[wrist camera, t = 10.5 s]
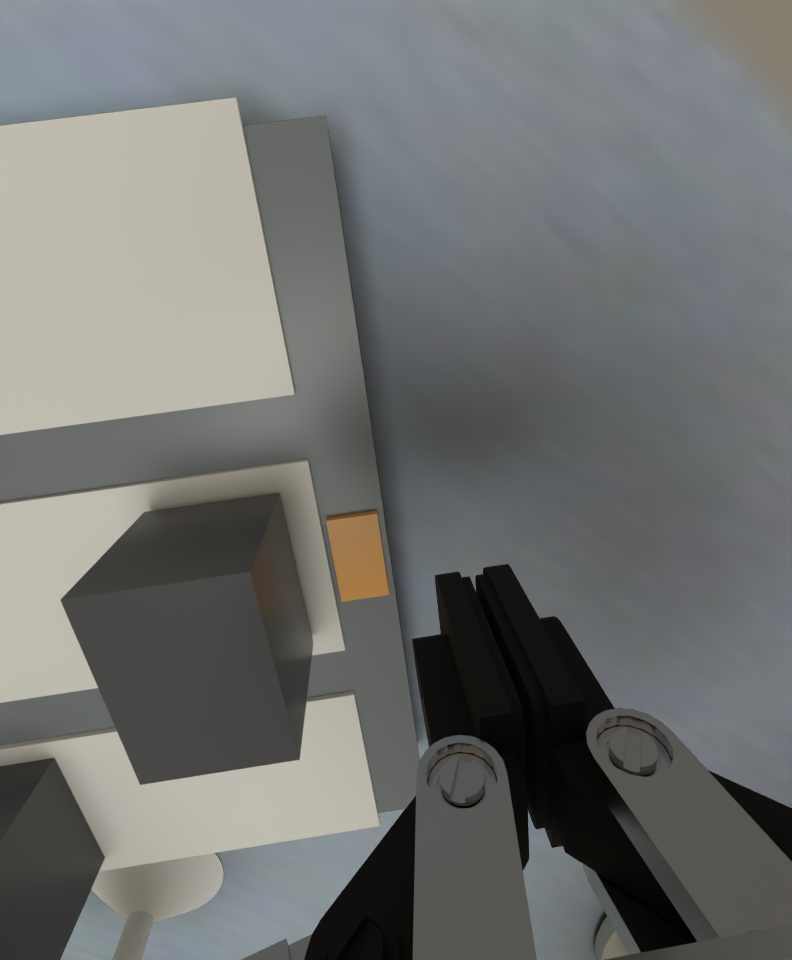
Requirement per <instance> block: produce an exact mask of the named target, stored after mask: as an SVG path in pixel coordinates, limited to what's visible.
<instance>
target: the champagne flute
mask: <svg viewBox="0 0 792 960" xmlns="http://www.w3.org/2000/svg"><path fill="white" fill-rule="evenodd" d="M223 876H224V873H223V867H222V864H221V862H220V860H219V858H218V856H217V855H216V854H215V853H211V854H205V855H199V856H193V857H186V858H180V859H174V860H168V861H162V862H156V863H149V864H143V865H137V866H131V867H125V868H119V869H112V870H106V871H100V872H98V875H97V877H96V879H95V881H94V884H93V886H92V888H91V889H92V891H93V892H94V893H95V894H96V895H97V896H98V897H99V898H100V899H101V900H102V901H104V902H105V903H106V904H107V905H109V906H110V907H111V908H112V909H113V910H115V911H116V912H117V913H118V914H120V915H121V916H122V917H123V918H125V919H126V920H127V921H126V924H125V926H124V929H123V932H122V935H121V937H120V940H119V943H118V946H117V948H116V951H115V954H114V957H113V959H112V960H141V958H142V955H143V952H144V948H145V945H146V942H147V939H148V936H149V933H150V930H151V927H152V924H153V923H156V922H159V921H162V920H165V919H168V918H171V917H174V916H177V915H180V914H183V913H186V912H189V911H192V910H195V909H197V908H199V907H201V906H202V905H204V904H206V903H207V902H208V901H210V900H211V899H212V898H213V897H214V896H215V895H216V893H217V892H218V891H219V889H220V887H221V885H222V883H223Z"/></svg>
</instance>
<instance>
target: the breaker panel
mask: <svg viewBox="0 0 792 960" xmlns="http://www.w3.org/2000/svg"><path fill="white" fill-rule="evenodd" d="M273 493H280V496H281V500H282V505H283V509H284V514H285V518H286V523H287V527H288V531H289V536H290V540H291V545H292V549H293V554H294V558H295V563H296V567H297V572H298V576H299V581H300V585H301V589H302V594H303V598H304V603H305V607H306V612H307V616H308V621H309V625H310V630H311V634H312V639H313V651H312V659H311V668H310V676H309V685H308V693H307V702H306V710H305V719H304V727H303V736H302V744H301V752H300V760H295V761H289V762H282V763H276V764H270V765H263V766H257V767H251V768H244V769H238V770H232V771H225V772H219V773H213V774H206V775H200V776H194V777H187V778H181V779H175V780H168V781H162V782H156V783H149V784H143V785H140V783H139V781H138V779H137V777H136V774H135V772H134V770H133V767H132V765H131V763H130V760H129V758H128V756H127V753H126V751H125V749H124V746H123V744H122V742H121V739H120V737H119V735H118V733H117V730H116V728H115V726H114V723H113V721H112V719H111V716H110V714H109V712H108V709H107V707H106V705H105V702H104V700H103V698H102V696H101V693H100V691H99V689H98V686H97V684H96V682H95V679H94V677H93V675H92V672H91V670H90V668H89V665H88V663H87V661H86V658H85V656H84V654H83V652H82V649H81V647H80V645H79V642H78V640H77V638H76V635H75V633H74V631H73V628H72V626H71V624H70V621H69V619H68V617H67V614H66V612H65V610H64V608H63V605H62V603H61V601H60V600H61V599H62V598H63V596H64V595H65V594H66V593H67V592H68V591H69V590H70V589H71V588H72V587H73V586H74V585H75V584H76V583H77V582H78V581H79V580H80V579H81V578H82V577H83V576H84V574H85V573H86V572H87V571H88V570H89V569H90V568H91V567H92V566H93V565H94V564H95V563H96V562H97V561H98V560H99V559H100V558H101V557H102V556H103V555H104V554H105V552H106V551H107V550H108V549H109V548H110V547H111V546H112V545H113V544H114V543H115V542H116V541H117V540H118V539H119V538H120V537H121V536H122V535H123V534H124V533H125V532H126V530H127V529H128V528H129V527H130V526H131V525H132V524H133V523H134V522H135V521H136V520H137V519H138V518H139V517H140V516H141V515H142V514H143V513H144V512H147V511H154V510H161V509H168V508H175V507H182V506H189V505H196V504H203V503H210V502H217V501H224V500H231V499H238V498H245V497H252V496H259V495H266V494H273ZM419 761H420V758H419V751H418V744H417V737H416V730H415V723H414V716H413V709H412V703H411V696H410V689H409V682H408V675H407V668H406V661H405V654H404V647H403V640H402V633H401V627H400V620H399V613H398V606H397V599H396V592H395V585H394V578H393V571H392V564H391V558H390V551H389V544H388V537H387V530H386V523H385V516H384V509H383V502H382V495H381V489H380V482H379V475H378V468H377V461H376V454H375V447H374V440H373V433H372V426H371V420H370V413H369V406H368V399H367V392H366V385H365V378H364V371H363V364H362V357H361V351H360V344H359V337H358V330H357V323H356V316H355V309H354V302H353V295H352V288H351V282H350V275H349V268H348V261H347V254H346V247H345V240H344V233H343V226H342V219H341V213H340V206H339V199H338V192H337V185H336V178H335V171H334V164H333V157H332V150H331V144H330V138H329V132H328V126H327V120H326V116H318V117H309V118H301V119H293V120H285V121H277V122H268V123H260V124H252V125H244V126H243V124H242V119H241V113H240V108H239V103H238V100H237V98H228V99H220V100H212V101H203V102H195V103H187V104H179V105H170V106H162V107H154V108H145V109H137V110H129V111H120V112H112V113H104V114H95V115H87V116H79V117H70V118H62V119H54V120H45V121H37V122H29V123H20V124H12V125H4V126H0V960H60V959H61V956H62V954H63V952H64V949H65V947H66V945H67V943H68V940H69V938H70V936H71V934H72V931H73V929H74V927H75V925H76V922H77V920H78V918H79V915H80V913H81V911H82V909H83V906H84V904H85V902H86V900H87V897H88V895H89V893H90V891H91V888H92V886H93V884H94V881H95V879H96V877H97V875H98V872H100V871H106V870H112V869H119V868H125V867H131V866H137V865H143V864H149V863H156V862H162V861H168V860H174V859H180V858H186V857H193V856H199V855H205V854H211V853H217V852H223V851H230V850H236V849H242V848H248V847H254V846H260V845H266V844H273V843H279V842H285V841H291V840H297V839H303V838H310V837H316V836H322V835H328V834H334V833H340V832H347V831H353V830H359V829H365V828H371V827H377V826H380V821H379V816H378V813H381V812H387V811H394V810H400V809H406V807H407V806H408V805H409V804H410V802H411V801H412V800H413V798H414V797H415V796H416V778H417V770H418V765H419Z"/></svg>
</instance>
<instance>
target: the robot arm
mask: <svg viewBox="0 0 792 960" xmlns="http://www.w3.org/2000/svg"><path fill="white" fill-rule="evenodd" d="M435 583H436V593H437V602H438V611H439V621H440V630H441V635H434V636H428V637H422V638H415V639H412V642H413V650H414V658H415V665H416V672H417V679H418V685H419V692H420V698H421V704H422V710H423V715H424V721H425V727H426V733H427V738H428V744H429V748H428V749H427V750H426V751H425V752H424V754H423V756H422V758H421V760H420V761H419V765H418V770H417V778H416V796H415V797H414V798H413V800H412V801H411V802H410V804H409V805H408V806H407V807H406V809H405V810H404V811H403V813H402V814H401V815H400V817H399V818H398V819H397V821H396V822H395V823H394V824H393V826H392V827H391V828H390V830H389V831H388V832H387V834H386V835H385V836H384V838H383V839H382V840H381V841H380V843H379V844H378V845H377V847H376V848H375V849H374V851H373V852H372V853H371V855H370V856H369V857H368V858H367V860H366V861H365V862H364V864H363V865H362V866H361V868H360V869H359V870H358V872H357V873H356V874H355V875H354V877H353V878H352V879H351V881H350V882H349V883H348V885H347V886H346V887H345V889H344V890H343V891H342V892H341V894H340V895H339V896H338V898H337V899H336V900H335V902H334V903H333V904H332V906H331V907H330V908H329V909H328V911H327V912H326V913H325V915H324V916H323V917H322V919H321V920H320V922H319V924H318V925H317V927H316V929H315V930H314V932H313V934H311V935H309V936H307V937H305V938H303V939H301V940H299V941H296V942H294V943H292V944H290V945H288V942H287V939H284V940H282V941H280V942H278V943H276V944H274V945H271V946H269V947H267V948H265V949H263V950H261V951H259V952H257V953H254V954H252V955H250V956H248V957H246V958H244V959H242V960H537V959H536V953H535V946H534V940H533V934H532V927H531V921H530V915H529V908H528V902H527V896H526V889H525V883H524V877H523V870H524V868H525V866H526V864H527V862H528V860H529V837H528V811H529V814H530V817H531V820H532V822H533V825H534V827H535V828H536V829H540V828H545V830H546V833H547V836H548V838H549V841H550V844H551V847H552V848H553V847H559V846H563V847H564V850H565V852H566V853H567V854H569V855H570V856H572V857H574V858H575V859H577V860H578V861H580V862H581V863H583V869H584V871H585V874H586V876H587V879H588V881H589V883H590V885H591V887H592V889H593V891H594V892H595V894H596V896H597V898H598V900H599V902H600V903H601V905H602V907H603V909H604V911H605V913H606V914H607V917H606V918H605V919H604V921H603V922H602V924H601V926H600V929H599V931H598V934H597V936H596V940H595V949H594V951H595V956H596V960H792V808H790V807H787V806H785V805H783V804H781V803H779V802H776V801H774V800H772V799H770V798H768V797H765V796H763V795H761V794H759V793H757V792H754V791H752V790H750V789H748V788H746V787H743V786H741V785H739V784H737V783H735V782H732V781H730V780H728V779H726V778H724V777H721V776H719V775H717V774H715V773H713V772H710V771H708V770H707V769H706V768H705V767H704V766H703V765H702V763H701V762H700V761H699V760H698V759H697V758H696V757H695V756H694V755H693V754H692V753H691V751H690V750H689V749H688V748H687V747H686V746H685V745H684V744H683V743H682V742H681V741H680V739H679V738H678V737H677V736H676V735H675V734H674V733H673V732H672V731H671V730H670V729H669V728H668V727H666V726H665V725H664V724H663V723H662V722H661V721H659V720H657V719H655V718H653V717H652V716H650V715H648V714H646V713H642V712H639V711H636V710H633V709H622V708H617V709H615V708H614V707H613V705H612V704H611V702H610V700H609V699H608V697H607V696H606V694H605V692H604V691H603V689H602V687H601V686H600V684H599V683H598V681H597V679H596V678H595V676H594V675H593V673H592V671H591V670H590V668H589V667H588V665H587V663H586V662H585V660H584V658H583V657H582V655H581V654H580V652H579V650H578V649H577V647H576V646H575V644H574V642H573V641H572V639H571V638H570V636H569V634H568V633H567V631H566V630H565V628H564V626H563V625H562V623H561V622H560V620H559V619H558V618H557V617H555V616H553V617H547V618H541V619H539V617H538V615H537V613H536V612H535V610H534V608H533V606H532V605H531V603H530V601H529V599H528V598H527V596H526V594H525V592H524V590H523V589H522V587H521V585H520V583H519V582H518V580H517V578H516V576H515V575H514V573H513V571H512V569H511V567H510V566H509V565H508V564H505V565H498V566H492V567H485V568H484V569H483V574H482V575H476V591H475V589H474V586H473V584H472V581H471V579H470V577H463V578H462V577H461V575H460V573H459V572H453V573H447V574H440V575H435Z"/></svg>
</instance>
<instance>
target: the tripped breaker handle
mask: <svg viewBox="0 0 792 960" xmlns="http://www.w3.org/2000/svg"><path fill="white" fill-rule="evenodd" d="M60 601H61V603H62V605H63V608H64V610H65V612H66V614H67V617H68V619H69V621H70V624H71V626H72V628H73V631H74V633H75V635H76V638H77V640H78V642H79V645H80V647H81V649H82V652H83V654H84V656H85V658H86V661H87V663H88V665H89V668H90V670H91V672H92V675H93V677H94V679H95V682H96V684H97V686H98V689H99V691H100V693H101V696H102V698H103V700H104V702H105V705H106V707H107V709H108V712H109V714H110V716H111V719H112V721H113V723H114V726H115V728H116V730H117V733H118V735H119V737H120V739H121V742H122V744H123V746H124V749H125V751H126V753H127V756H128V758H129V760H130V763H131V765H132V767H133V770H134V772H135V774H136V777H137V779H138V781H139V783H140V785H143V784H149V783H156V782H162V781H168V780H175V779H181V778H187V777H194V776H200V775H206V774H213V773H219V772H225V771H232V770H238V769H244V768H251V767H257V766H263V765H270V764H276V763H282V762H289V761H295V760H300V752H301V744H302V736H303V727H304V719H305V710H306V702H307V693H308V685H309V676H310V668H311V659H312V651H313V639H312V634H311V630H310V625H309V621H308V616H307V612H306V607H305V603H304V598H303V594H302V589H301V585H300V581H299V576H298V572H297V567H296V563H295V558H294V554H293V549H292V545H291V540H290V536H289V531H288V527H287V523H286V518H285V514H284V509H283V505H282V500H281V496H280V493H273V494H266V495H259V496H252V497H245V498H238V499H231V500H224V501H217V502H210V503H203V504H196V505H189V506H182V507H175V508H168V509H161V510H154V511H147V512H144V513H143V514H142V515H141V516H140V517H139V518H138V519H137V520H136V521H135V522H134V523H133V524H132V525H131V526H130V527H129V528H128V529H127V530H126V532H125V533H124V534H123V535H122V536H121V537H120V538H119V539H118V540H117V541H116V542H115V543H114V544H113V545H112V546H111V547H110V548H109V549H108V550H107V551H106V552H105V554H104V555H103V556H102V557H101V558H100V559H99V560H98V561H97V562H96V563H95V564H94V565H93V566H92V567H91V568H90V569H89V570H88V571H87V572H86V573H85V574H84V576H83V577H82V578H81V579H80V580H79V581H78V582H77V583H76V584H75V585H74V586H73V587H72V588H71V589H70V590H69V591H68V592H67V593H66V594H65V595H64V596H63V598H62V599H61V600H60Z"/></svg>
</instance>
